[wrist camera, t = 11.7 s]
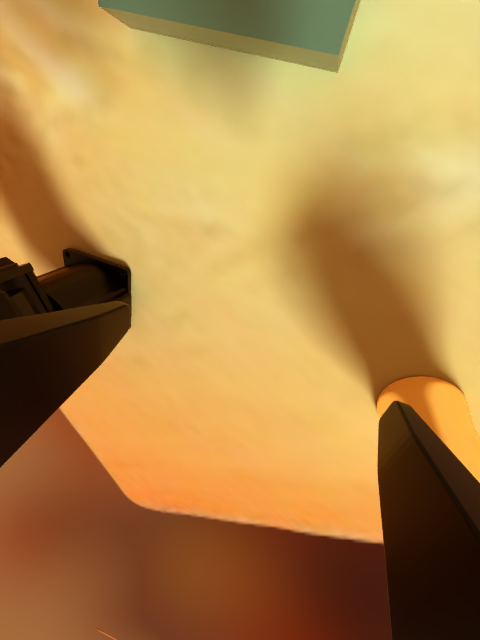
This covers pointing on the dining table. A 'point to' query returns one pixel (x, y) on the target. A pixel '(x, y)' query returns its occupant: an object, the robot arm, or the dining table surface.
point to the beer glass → (439, 414)
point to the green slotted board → (250, 25)
